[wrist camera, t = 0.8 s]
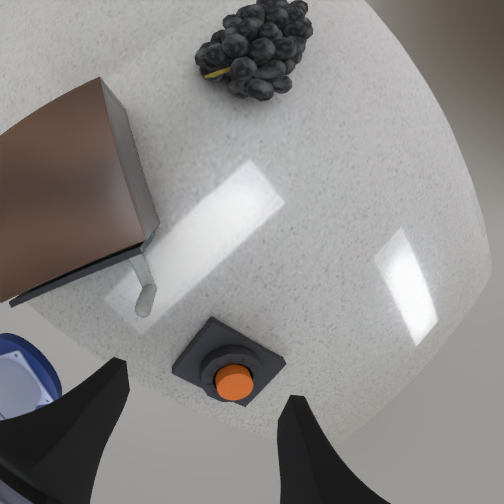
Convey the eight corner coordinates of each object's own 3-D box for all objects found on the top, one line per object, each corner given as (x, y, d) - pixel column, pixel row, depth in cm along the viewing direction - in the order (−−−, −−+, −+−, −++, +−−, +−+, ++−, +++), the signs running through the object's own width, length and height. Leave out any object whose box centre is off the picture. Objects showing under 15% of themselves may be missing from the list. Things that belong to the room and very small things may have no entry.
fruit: (310, -42, 12) (198, 41, 13) (365, 20, 17) (287, 119, 18) (260, -11, 19) (168, 72, 20) (309, 36, 24) (234, 123, 25)
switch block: (171, 366, 28) (171, 383, 25) (211, 315, 27) (214, 329, 24) (243, 400, 31) (248, 416, 28) (283, 357, 30) (291, 372, 27)
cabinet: (160, 223, 24) (146, 240, 16) (42, 273, 22) (0, 303, 14) (125, 108, 21) (99, 76, 13) (11, 169, 19) (-39, 168, 11)
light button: (208, 381, 26) (209, 392, 24) (228, 358, 26) (231, 368, 24) (236, 394, 27) (238, 404, 25) (256, 372, 27) (260, 382, 25)
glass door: (173, 282, 24) (169, 315, 18) (64, 321, 23) (37, 356, 16) (153, 230, 23) (140, 245, 17) (42, 276, 21) (8, 302, 15)
